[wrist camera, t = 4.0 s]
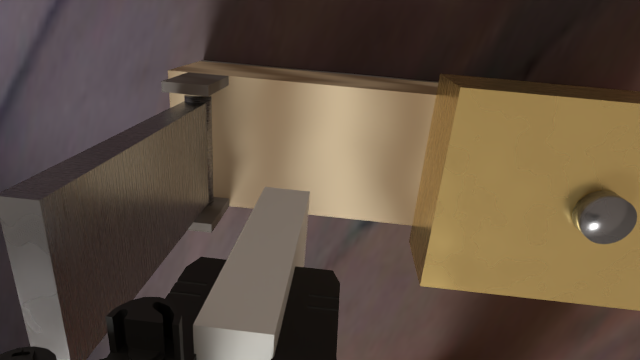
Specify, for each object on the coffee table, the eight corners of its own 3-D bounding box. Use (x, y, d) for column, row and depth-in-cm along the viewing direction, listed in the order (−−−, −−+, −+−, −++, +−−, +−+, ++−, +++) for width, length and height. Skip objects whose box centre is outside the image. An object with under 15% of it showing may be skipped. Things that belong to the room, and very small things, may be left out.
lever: (194, 196, 22) (33, 376, 11) (190, 92, 19) (-13, 186, 9) (216, 198, 21) (78, 381, 11) (214, 94, 19) (42, 192, 9)
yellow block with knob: (409, 241, 23) (422, 297, 18) (440, 73, 19) (465, 90, 15) (596, 261, 22) (657, 323, 18) (661, 93, 19) (757, 117, 14)
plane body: (206, 169, 27) (150, 225, 20) (203, 60, 25) (138, 78, 17) (574, 206, 26) (660, 281, 19) (612, 97, 24) (729, 134, 16)
